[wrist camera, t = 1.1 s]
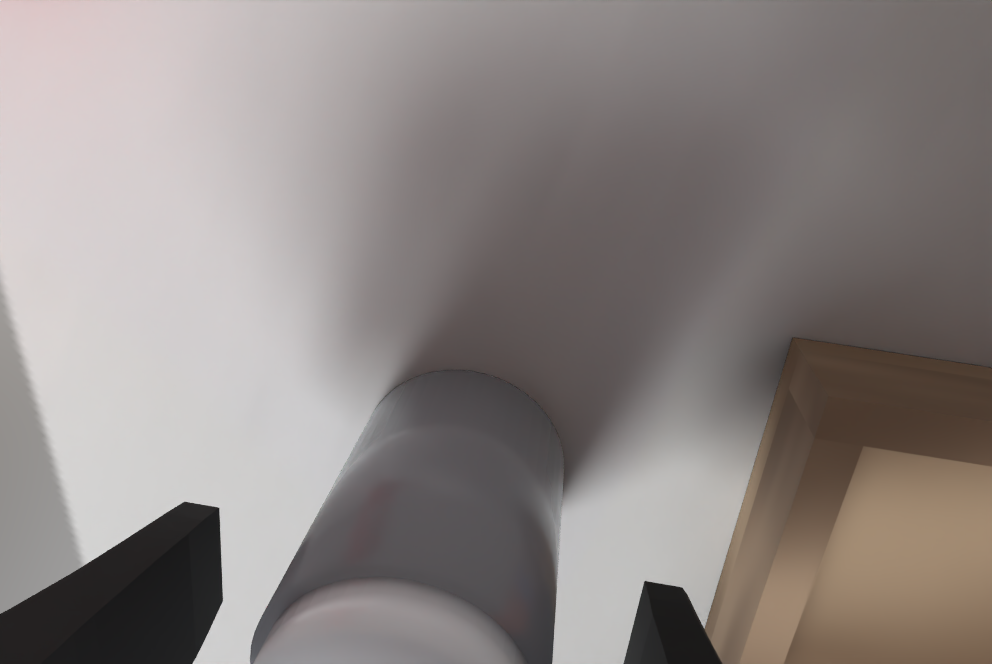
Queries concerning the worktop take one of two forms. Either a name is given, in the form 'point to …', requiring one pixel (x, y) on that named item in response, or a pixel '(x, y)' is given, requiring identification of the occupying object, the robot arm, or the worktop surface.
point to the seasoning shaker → (431, 537)
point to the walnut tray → (864, 517)
